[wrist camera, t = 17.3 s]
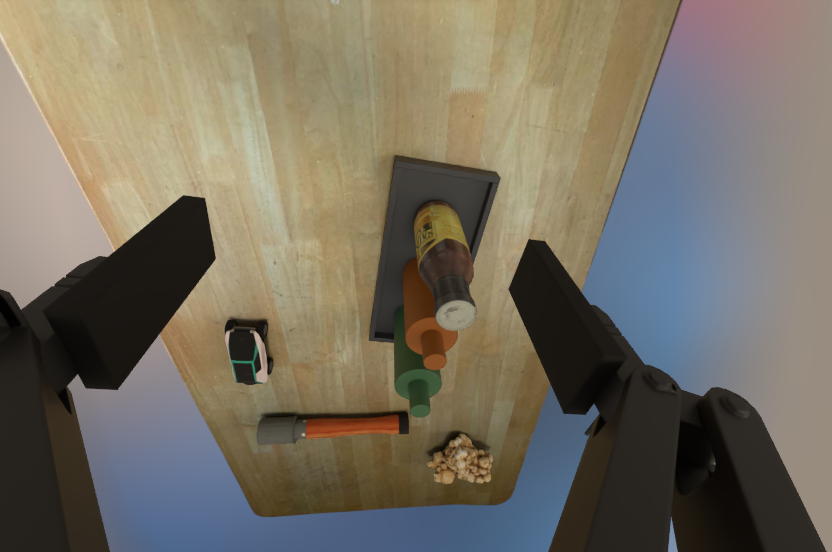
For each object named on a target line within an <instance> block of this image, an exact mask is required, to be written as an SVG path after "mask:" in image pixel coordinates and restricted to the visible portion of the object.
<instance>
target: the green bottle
mask: <svg viewBox="0 0 832 552" xmlns="http://www.w3.org/2000/svg"><path fill="white" fill-rule="evenodd" d="M394 377H395V390H396V392H397V393H398V394H399V395H400V396H402V397H404V398H406V399H409V402H410V413H411V415H412V416H414V417H425V416H427V415H428V414H429V413H430V401H429V398H430V397H432V396H434V395H435V394H436V393H437V392H438V391H439V390H440V388H441V385H442V381H441V375H440V369H439V370H430V369H427V368H426V367H425V366H424V363H423V355H421V354H418V353H416V352H414V351H413V350H411V349H410V348H409V347H408V345H407V343H406V339H405V319H404V305H402V306H401V307H399V308H398V309H397V311H396V312H395V314H394Z"/></svg>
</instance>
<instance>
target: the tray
mask: <svg viewBox="0 0 832 552" xmlns="http://www.w3.org/2000/svg"><path fill="white" fill-rule="evenodd" d="M500 179H501V178H500V176H499V175H498V174H497V173H496V172H492V171H486V170H480V169H474V168H468V167H462V166H456V165H450V164H444V163H438V162H432V161H426V160H420V159H414V158H408V157H402V156H395V160H394V167H393V174H392V181H391V188H390V195H389V202H388V208H387V215H386V222H385V229H384V236H383V243H382V250H381V257H380V263H379V270H378V277H377V284H376V291H375V298H374V305H373V311H372V318H371V325H370V333H369V341H379V342H390V343H394V314H395V312H396V311H397V309H398V308H399V307H401V306H402V305H404V298H403V278H402V272H403V268H404V266H405V265H406V264H407V262H408V261H410V260H411V259H413V258H415V257H417V252H416V242H415V232H414V222H415V217H416V214H417V213H418V211H419V210H420V208H421V207H422V206H423V205H425V204H427V203H429V202H432V201H441V202H445V203H447V204H449V205H450V206H452V208H453V209H454V211H455V213H456V214H457V215H458V218H459V220H460V223H461V226H462V230H463V233H464V236H465V239H466V242H467V245H468V248H469V251H470V254H471V260H472V263H474V260H475V257H476V254H477V251H478V248H479V244H480V241H481V238H482V235H483V232H484V229H485V226H486V222H487V219H488V216H489V213H490V210H491V207H492V204H493V200H494V197H495V194H496V191H497V188H498V185H499V184H498V183H499V182H500Z"/></svg>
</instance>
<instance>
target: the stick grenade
mask: <svg viewBox="0 0 832 552" xmlns="http://www.w3.org/2000/svg"><path fill="white" fill-rule="evenodd" d="M371 433H383V434H409V420H408V413H403V414H397V415H388V416H382V417H371V418H350V419H345V418H316V419H298V416H297V415H296V416H293V417H273V418H262V419H261V420H260V422H259V424H258V428H257V442H258V444H260V445H265V444H283V443H293V444H295V443H296V441H297V439H314V438H330V437H336V436H343V435H354V434H371Z"/></svg>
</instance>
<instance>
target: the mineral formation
mask: <svg viewBox="0 0 832 552" xmlns="http://www.w3.org/2000/svg"><path fill="white" fill-rule="evenodd" d="M475 448H476V447H475V446H473V444H472V442H471V440H470V438H469V437H467V436H465V434H461V433H460V434H459V435H458V437H456V438H455V440H450V442H449V445H448V446H446V447H445V449H444V450H443V451H442V452H441V451H439V452H437V453H434V454H433V455H434V459H433V460H432V461H428V462H427V465H428V467H433V468H434V469H435V470H436V472H435V474H434V480H435V481H436V482H443V483H445V484H450V483H452V482H453V481H454V478H455V474H457V475H458V478H459V479H464V480H468V481H470V482H474V481H475V482H477V483H481V484H482V483H483V481H486V482H489V481H490V479H491V474H490V469H491V466H492V465H491V463H492V461H493V457H492V455H491V454H489V453H485V454H484V451H483V450H482V449H480V450H479V451H478V450H477V449H475Z"/></svg>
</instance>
